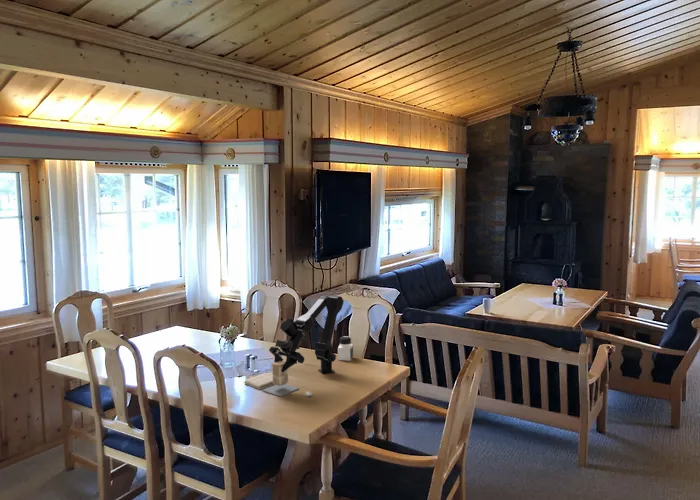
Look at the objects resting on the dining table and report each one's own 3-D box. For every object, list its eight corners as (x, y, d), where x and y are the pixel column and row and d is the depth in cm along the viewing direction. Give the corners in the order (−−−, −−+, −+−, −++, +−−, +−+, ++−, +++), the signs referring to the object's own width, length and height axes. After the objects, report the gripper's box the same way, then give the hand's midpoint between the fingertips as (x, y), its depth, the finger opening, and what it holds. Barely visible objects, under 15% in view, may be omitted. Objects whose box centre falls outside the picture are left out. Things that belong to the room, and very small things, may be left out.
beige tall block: (280, 380, 278) (279, 360, 276) (288, 382, 274) (287, 362, 273) (272, 383, 274) (272, 363, 273) (280, 386, 271) (279, 365, 269)
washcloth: (288, 381, 288) (288, 374, 288) (259, 391, 275) (259, 384, 275) (273, 375, 296) (272, 370, 296) (244, 385, 283) (243, 379, 283)
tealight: (304, 394, 268) (304, 392, 268) (310, 393, 269) (310, 391, 269) (306, 397, 265) (306, 394, 265) (312, 395, 267) (312, 393, 266)
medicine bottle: (350, 360, 317) (350, 339, 315) (337, 360, 318) (337, 338, 317) (353, 356, 324) (352, 335, 322) (340, 356, 325) (340, 335, 324)
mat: (280, 384, 283) (280, 382, 283) (298, 389, 275) (298, 388, 275) (262, 391, 274) (262, 390, 274) (280, 396, 266) (280, 395, 266)
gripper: (270, 329, 280) (254, 358, 273) (299, 335, 268) (282, 365, 261) (283, 342, 287) (267, 370, 280) (311, 348, 276) (295, 377, 268)
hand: (277, 370), depth 272 cm, fingers closed on beige tall block, 5 cm apart
